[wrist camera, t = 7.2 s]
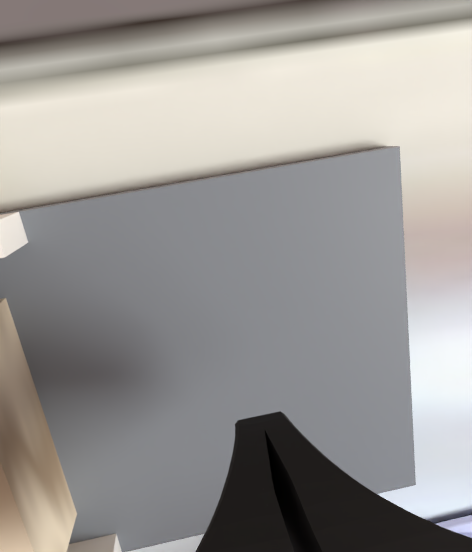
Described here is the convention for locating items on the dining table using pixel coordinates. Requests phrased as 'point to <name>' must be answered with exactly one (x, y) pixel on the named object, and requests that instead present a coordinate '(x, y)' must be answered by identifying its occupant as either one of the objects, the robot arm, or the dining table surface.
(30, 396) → the t block
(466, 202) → the dining table surface
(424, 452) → the dining table surface
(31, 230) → the board
